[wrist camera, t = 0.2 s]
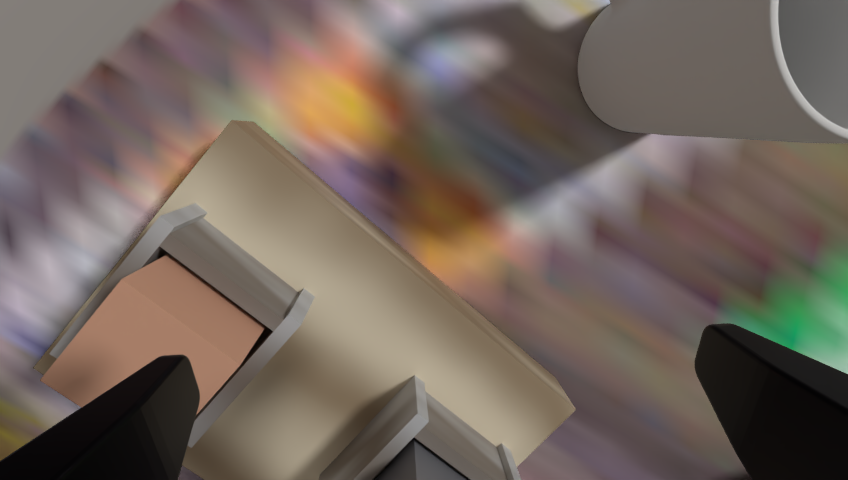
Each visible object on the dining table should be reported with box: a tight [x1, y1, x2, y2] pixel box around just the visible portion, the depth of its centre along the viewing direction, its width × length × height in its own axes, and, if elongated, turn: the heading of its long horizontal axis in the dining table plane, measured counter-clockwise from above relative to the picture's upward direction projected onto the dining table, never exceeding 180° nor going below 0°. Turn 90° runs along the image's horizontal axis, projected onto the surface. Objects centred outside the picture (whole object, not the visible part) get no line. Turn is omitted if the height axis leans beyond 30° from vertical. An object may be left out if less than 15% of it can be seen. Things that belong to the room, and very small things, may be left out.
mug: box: [578, 0, 848, 143], centre depth 16 cm, size 10×7×12 cm, turn 46°
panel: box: [33, 120, 576, 480], centre depth 22 cm, size 14×20×6 cm
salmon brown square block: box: [40, 254, 265, 415], centre depth 16 cm, size 4×4×3 cm
